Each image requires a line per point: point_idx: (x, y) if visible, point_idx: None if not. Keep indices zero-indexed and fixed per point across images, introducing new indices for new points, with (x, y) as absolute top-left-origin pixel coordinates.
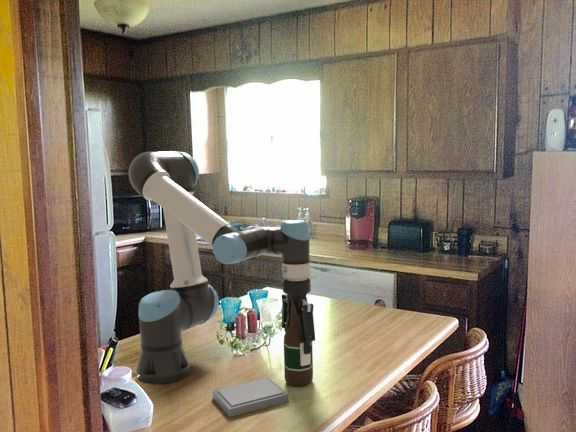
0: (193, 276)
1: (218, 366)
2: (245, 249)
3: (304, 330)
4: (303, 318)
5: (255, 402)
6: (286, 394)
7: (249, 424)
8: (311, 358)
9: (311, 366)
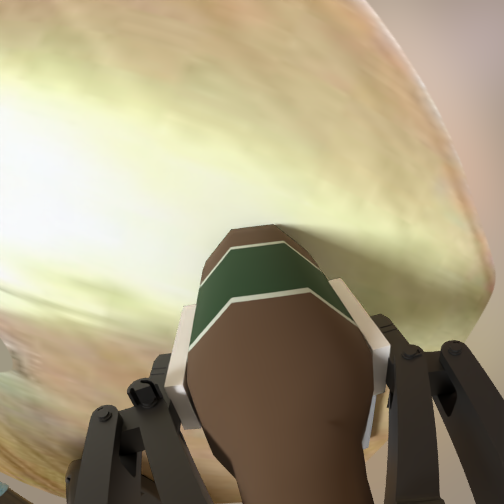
0: None
1: (82, 421)
2: None
3: (454, 435)
4: (480, 498)
5: (373, 413)
6: None
7: None
8: (304, 264)
9: (298, 252)
